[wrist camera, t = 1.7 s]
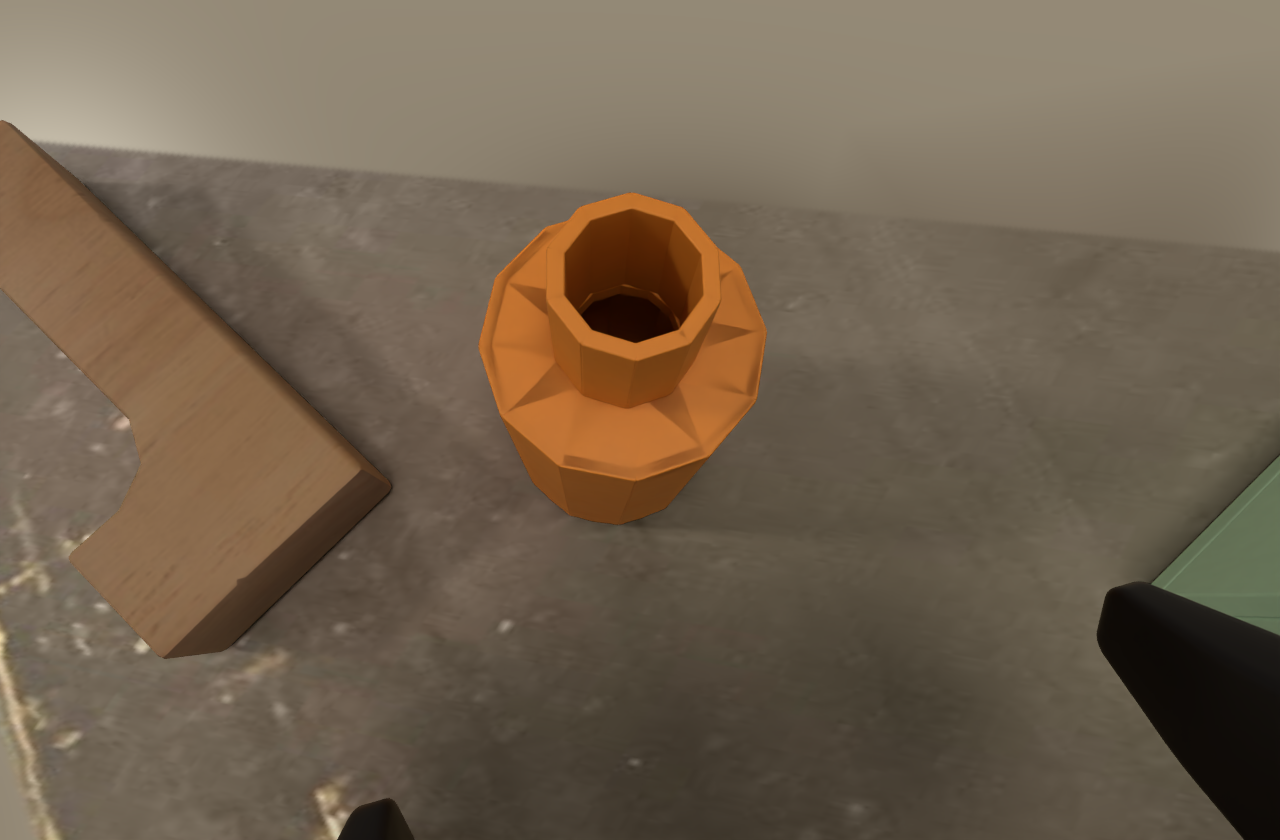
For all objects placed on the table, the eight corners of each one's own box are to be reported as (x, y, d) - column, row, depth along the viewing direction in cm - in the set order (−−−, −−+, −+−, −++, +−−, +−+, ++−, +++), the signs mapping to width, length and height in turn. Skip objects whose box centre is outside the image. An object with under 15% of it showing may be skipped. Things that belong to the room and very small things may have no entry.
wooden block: (396, 487, 23) (76, 178, 24) (365, 468, 19) (0, 113, 21) (224, 654, 21) (-103, 312, 23) (159, 663, 18) (-215, 265, 20)
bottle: (724, 489, 23) (860, 380, 12) (554, 548, 22) (517, 495, 11) (663, 330, 24) (732, 85, 13) (500, 381, 24) (414, 170, 12)
